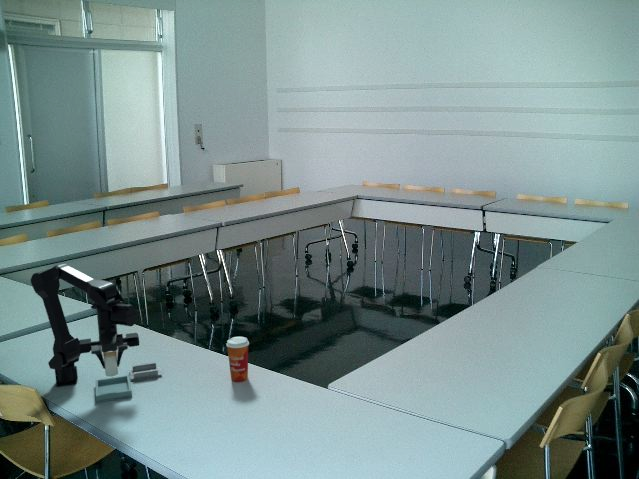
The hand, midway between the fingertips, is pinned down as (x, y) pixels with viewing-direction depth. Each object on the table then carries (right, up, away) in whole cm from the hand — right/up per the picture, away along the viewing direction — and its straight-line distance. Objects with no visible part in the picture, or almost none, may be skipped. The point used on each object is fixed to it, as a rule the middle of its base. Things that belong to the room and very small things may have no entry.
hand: (111, 367), depth 212 cm
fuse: (0, -2, 0) cm, 2 cm away
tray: (0, -8, +2) cm, 8 cm away
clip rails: (+7, -5, +14) cm, 17 cm away
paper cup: (+41, -6, +9) cm, 42 cm away
